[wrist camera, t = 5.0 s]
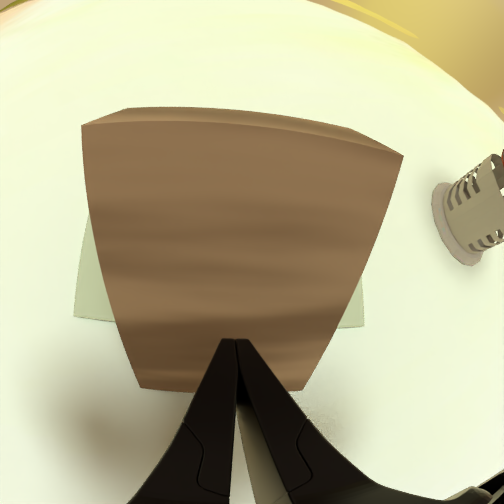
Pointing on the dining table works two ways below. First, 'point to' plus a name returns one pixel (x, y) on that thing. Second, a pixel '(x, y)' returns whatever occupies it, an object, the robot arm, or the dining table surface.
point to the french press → (471, 211)
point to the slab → (230, 233)
